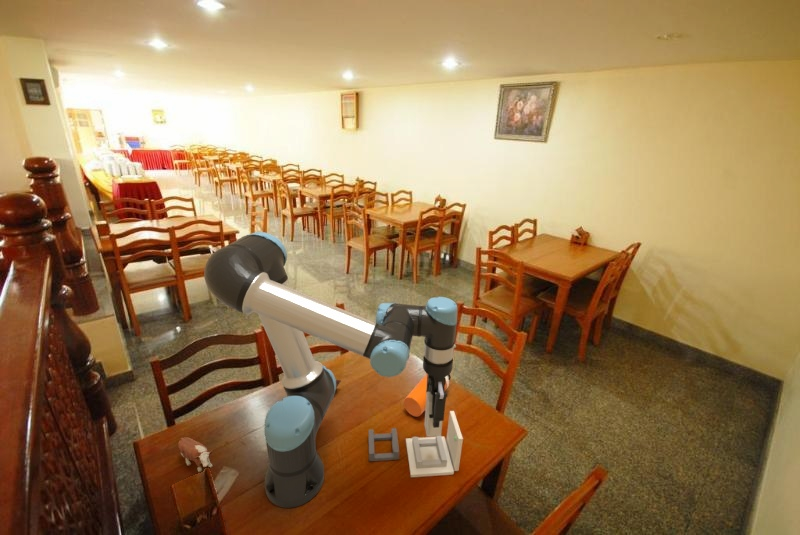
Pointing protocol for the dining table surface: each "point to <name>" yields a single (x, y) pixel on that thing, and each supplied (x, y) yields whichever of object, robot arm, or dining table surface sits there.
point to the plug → (428, 411)
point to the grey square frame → (388, 436)
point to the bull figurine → (194, 452)
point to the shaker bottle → (419, 397)
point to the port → (436, 452)
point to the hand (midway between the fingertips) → (432, 426)
